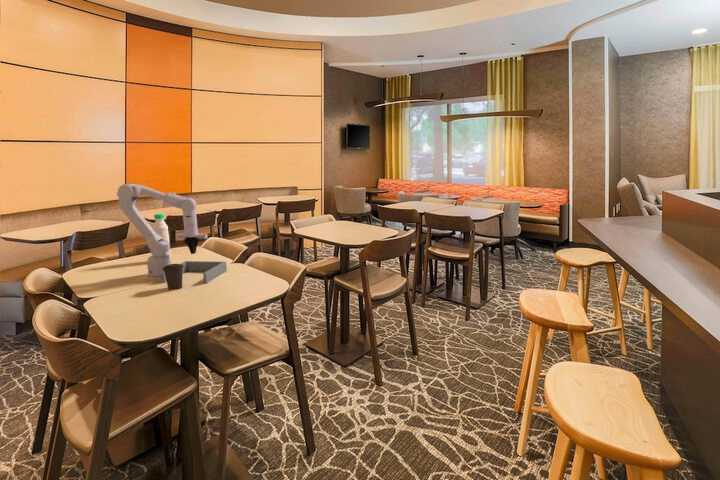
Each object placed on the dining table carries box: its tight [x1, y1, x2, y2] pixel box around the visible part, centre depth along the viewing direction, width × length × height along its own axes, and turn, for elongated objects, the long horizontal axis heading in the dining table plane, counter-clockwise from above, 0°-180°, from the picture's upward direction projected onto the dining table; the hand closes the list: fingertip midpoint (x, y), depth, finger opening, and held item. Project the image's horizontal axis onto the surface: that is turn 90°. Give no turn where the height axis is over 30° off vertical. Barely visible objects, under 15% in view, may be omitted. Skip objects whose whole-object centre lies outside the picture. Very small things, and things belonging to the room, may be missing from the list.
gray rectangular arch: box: [161, 260, 228, 285], centre depth 185 cm, size 20×20×4 cm
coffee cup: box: [162, 263, 184, 291], centre depth 168 cm, size 8×8×10 cm
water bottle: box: [152, 213, 172, 261], centre depth 212 cm, size 7×7×25 cm
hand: (193, 253), depth 189 cm, fingers closed
